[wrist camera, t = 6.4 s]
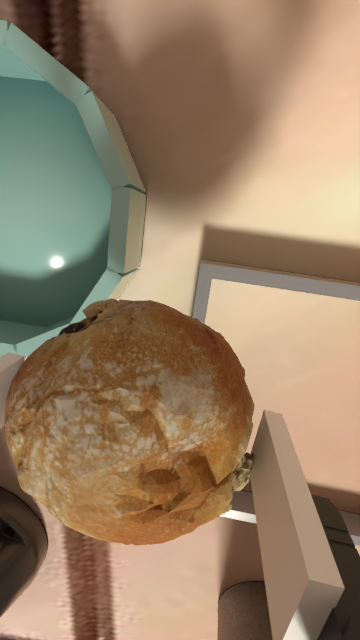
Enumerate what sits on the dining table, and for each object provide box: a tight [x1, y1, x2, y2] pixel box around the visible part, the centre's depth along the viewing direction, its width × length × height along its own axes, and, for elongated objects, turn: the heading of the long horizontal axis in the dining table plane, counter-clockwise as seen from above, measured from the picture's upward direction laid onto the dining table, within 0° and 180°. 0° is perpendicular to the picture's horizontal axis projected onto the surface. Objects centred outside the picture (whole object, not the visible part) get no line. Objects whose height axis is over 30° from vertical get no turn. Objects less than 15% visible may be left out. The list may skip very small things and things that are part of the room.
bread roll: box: [4, 299, 254, 545], centre depth 13 cm, size 10×10×8 cm
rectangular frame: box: [192, 260, 360, 545], centre depth 26 cm, size 23×23×2 cm
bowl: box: [0, 20, 147, 357], centre depth 23 cm, size 21×21×5 cm
